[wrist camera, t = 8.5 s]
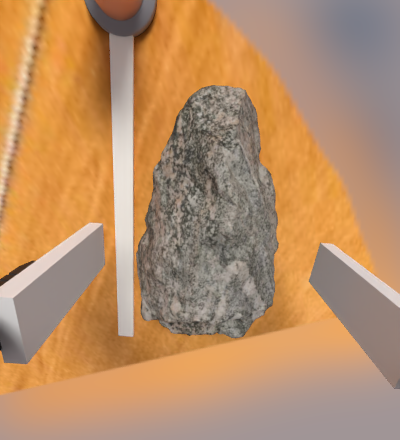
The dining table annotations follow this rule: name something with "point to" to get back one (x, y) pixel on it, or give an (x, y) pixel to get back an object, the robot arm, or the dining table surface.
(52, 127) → the dining table surface
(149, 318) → the rock
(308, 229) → the dining table surface
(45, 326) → the robot arm
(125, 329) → the crank handle
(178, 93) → the dining table surface
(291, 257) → the dining table surface
